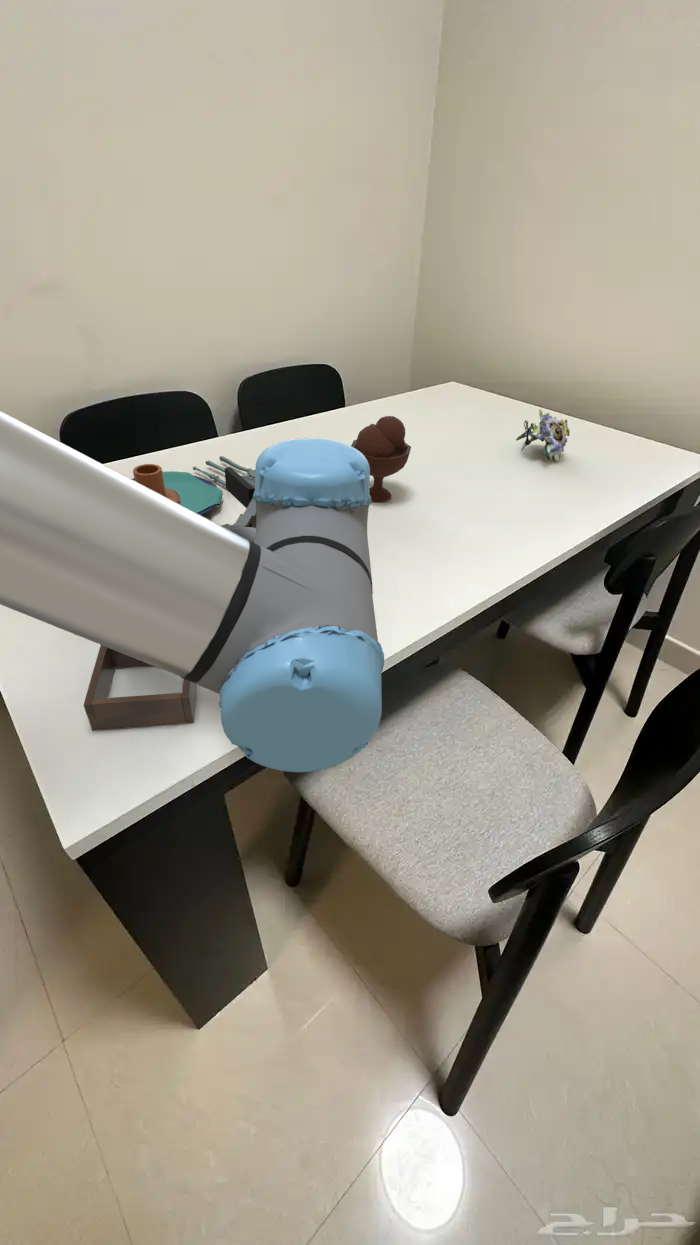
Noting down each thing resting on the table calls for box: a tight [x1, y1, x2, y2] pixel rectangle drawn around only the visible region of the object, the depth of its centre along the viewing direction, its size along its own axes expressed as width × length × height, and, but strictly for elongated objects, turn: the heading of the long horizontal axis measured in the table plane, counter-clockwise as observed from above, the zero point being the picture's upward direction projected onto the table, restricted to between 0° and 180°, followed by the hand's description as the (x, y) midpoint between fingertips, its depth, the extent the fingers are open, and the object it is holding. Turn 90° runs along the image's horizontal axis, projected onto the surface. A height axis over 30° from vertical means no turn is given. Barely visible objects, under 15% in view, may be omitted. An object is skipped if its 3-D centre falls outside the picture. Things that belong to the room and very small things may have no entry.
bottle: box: [132, 463, 181, 505], centre depth 78 cm, size 7×7×17 cm
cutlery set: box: [131, 455, 256, 516], centre depth 105 cm, size 20×30×2 cm, turn 139°
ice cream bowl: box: [350, 415, 412, 503], centre depth 105 cm, size 11×11×15 cm
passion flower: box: [515, 409, 571, 463], centre depth 128 cm, size 11×11×12 cm
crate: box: [83, 645, 198, 731], centre depth 66 cm, size 11×11×4 cm
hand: (172, 489), depth 66 cm, fingers open, 13 cm apart
